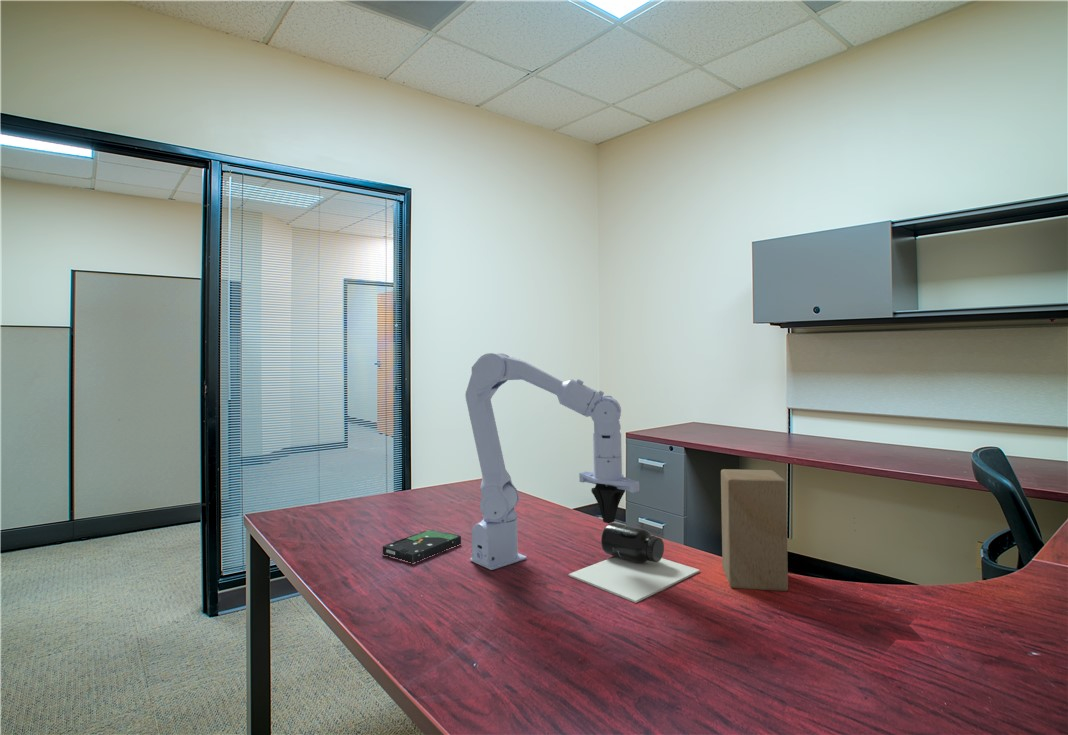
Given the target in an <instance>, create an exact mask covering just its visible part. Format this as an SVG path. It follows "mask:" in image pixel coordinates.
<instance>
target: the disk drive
mask: <svg viewBox="0 0 1068 735" xmlns="http://www.w3.org/2000/svg"><path fill="white" fill-rule="evenodd" d="M459 544H461V545H462V535H458V534H454V533H450V532H447V531H446V532H442V531H437V530H435V529H434V528H433V529H429V530H424V531H421V532H419V533H416V534H412V535H409V536H407V537H404V538H401V539H399V540H395V541H392V542H390V543H386V544H384V545H382V555H383V554H384V555H388V556H391V557H395V558H398V559H402V560H405V561H408V562H411V563H414V562H417V561H420V560H422V559H424V558H427V557H429V556H432V555H434V554H437V553H439V552H442V551H444V550H446V549H449V548H451V547H454V546H457V545H459Z"/></svg>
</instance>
